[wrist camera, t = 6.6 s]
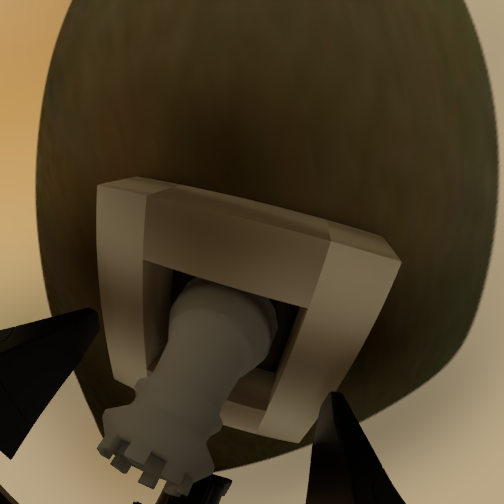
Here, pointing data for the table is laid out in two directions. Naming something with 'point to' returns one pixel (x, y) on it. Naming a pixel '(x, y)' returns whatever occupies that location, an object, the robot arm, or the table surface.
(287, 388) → the socket collar
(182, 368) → the rook chess piece
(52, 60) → the table surface
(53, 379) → the robot arm
